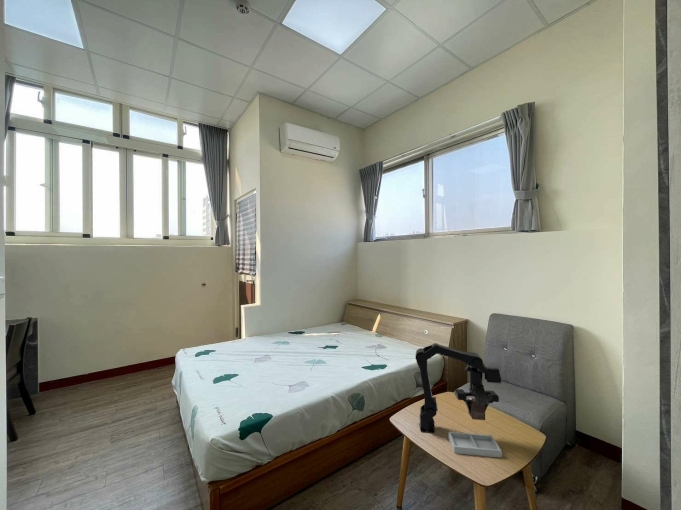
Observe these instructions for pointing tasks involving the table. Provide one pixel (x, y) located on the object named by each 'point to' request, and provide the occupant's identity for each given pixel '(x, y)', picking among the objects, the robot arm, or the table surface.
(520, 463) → the table surface
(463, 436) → the tray
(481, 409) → the box
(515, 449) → the table surface
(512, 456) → the table surface
